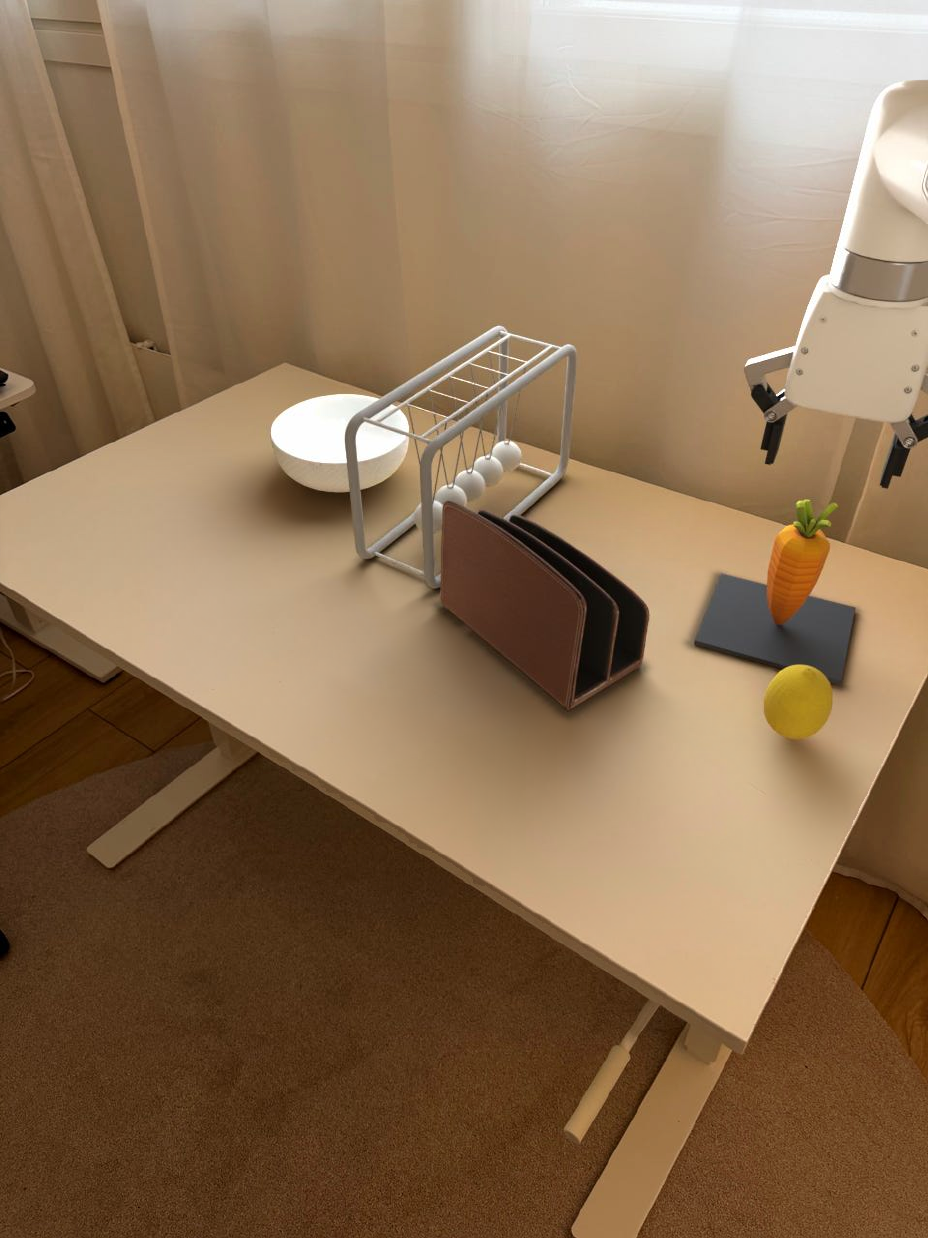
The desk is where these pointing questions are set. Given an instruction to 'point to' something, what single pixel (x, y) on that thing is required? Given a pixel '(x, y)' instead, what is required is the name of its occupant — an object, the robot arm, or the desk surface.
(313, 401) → the cereal bowl
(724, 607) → the mat
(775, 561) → the carrot
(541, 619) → the letter holder
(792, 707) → the lemon
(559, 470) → the newton's cradle
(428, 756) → the desk surface
